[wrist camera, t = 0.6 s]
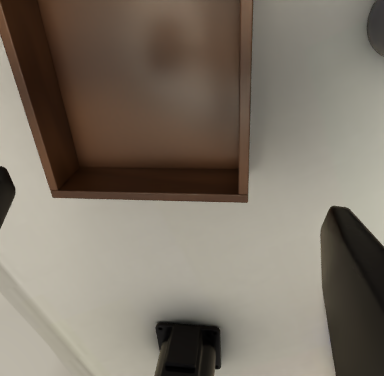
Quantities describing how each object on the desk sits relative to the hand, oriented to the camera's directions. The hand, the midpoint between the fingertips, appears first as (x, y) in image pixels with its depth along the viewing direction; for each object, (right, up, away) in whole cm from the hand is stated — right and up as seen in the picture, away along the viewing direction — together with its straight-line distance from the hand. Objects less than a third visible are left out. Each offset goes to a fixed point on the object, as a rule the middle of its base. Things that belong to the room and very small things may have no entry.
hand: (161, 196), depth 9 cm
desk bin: (-2, +7, +13) cm, 15 cm away
